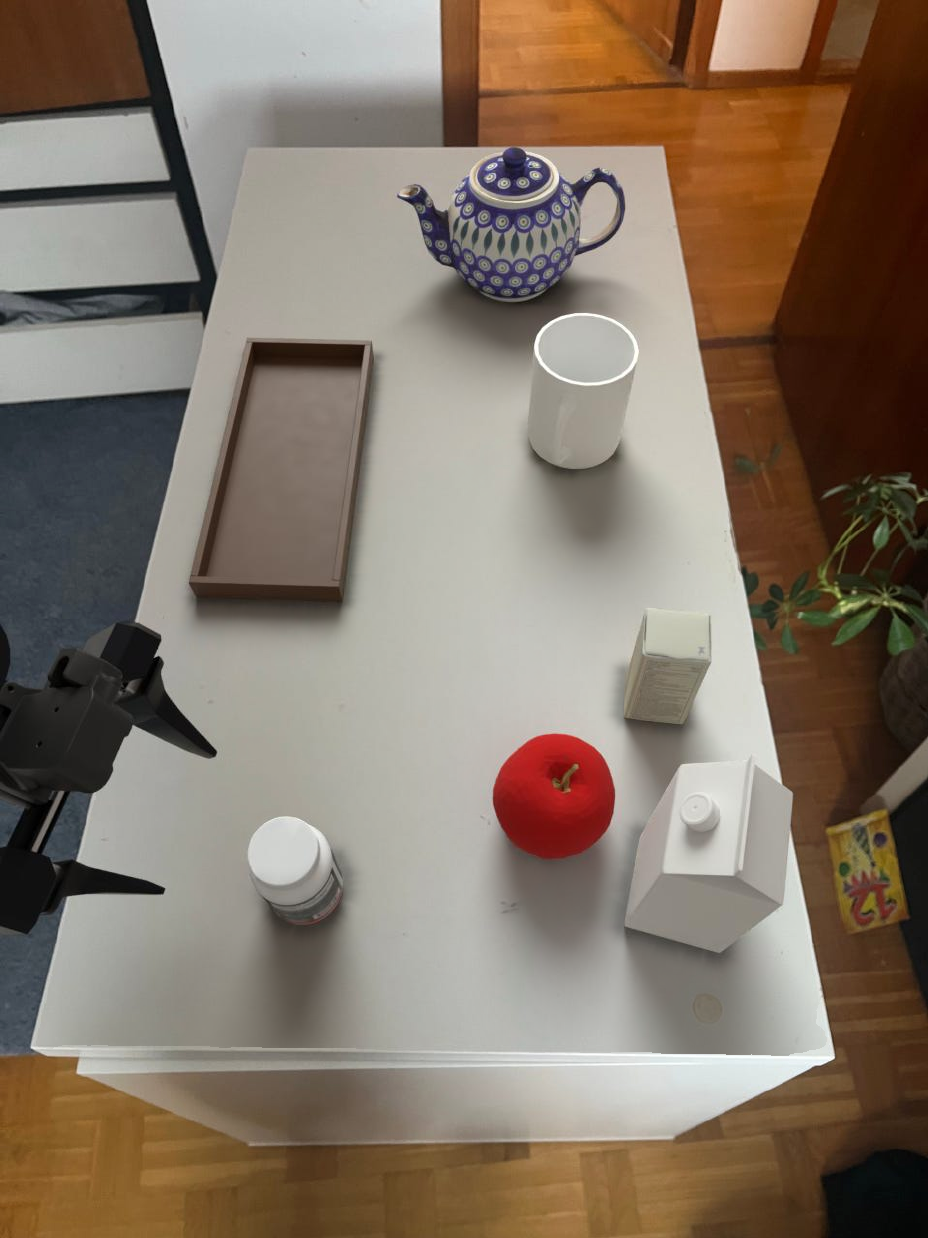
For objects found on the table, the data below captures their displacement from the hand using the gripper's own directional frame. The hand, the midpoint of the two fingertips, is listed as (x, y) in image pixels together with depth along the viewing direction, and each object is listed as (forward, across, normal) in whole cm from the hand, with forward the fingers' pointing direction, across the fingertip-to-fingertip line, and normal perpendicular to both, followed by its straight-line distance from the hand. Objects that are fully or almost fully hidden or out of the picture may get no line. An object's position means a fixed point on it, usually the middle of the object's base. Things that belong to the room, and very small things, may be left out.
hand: (188, 821), depth 57 cm
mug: (+22, +48, -5) cm, 53 cm away
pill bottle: (+13, 0, +5) cm, 14 cm away
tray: (+3, +40, +14) cm, 42 cm away
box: (+30, +21, -12) cm, 39 cm away
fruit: (+25, +9, -8) cm, 28 cm away
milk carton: (+32, +5, -15) cm, 36 cm away
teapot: (+15, +73, +3) cm, 75 cm away
